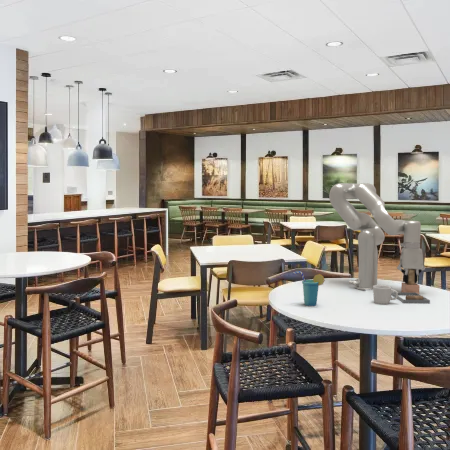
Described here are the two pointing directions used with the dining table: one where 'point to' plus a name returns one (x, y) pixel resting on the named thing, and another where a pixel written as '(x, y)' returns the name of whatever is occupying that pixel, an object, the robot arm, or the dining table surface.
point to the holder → (410, 288)
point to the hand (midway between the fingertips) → (410, 282)
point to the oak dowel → (411, 276)
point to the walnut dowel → (414, 297)
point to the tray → (424, 301)
